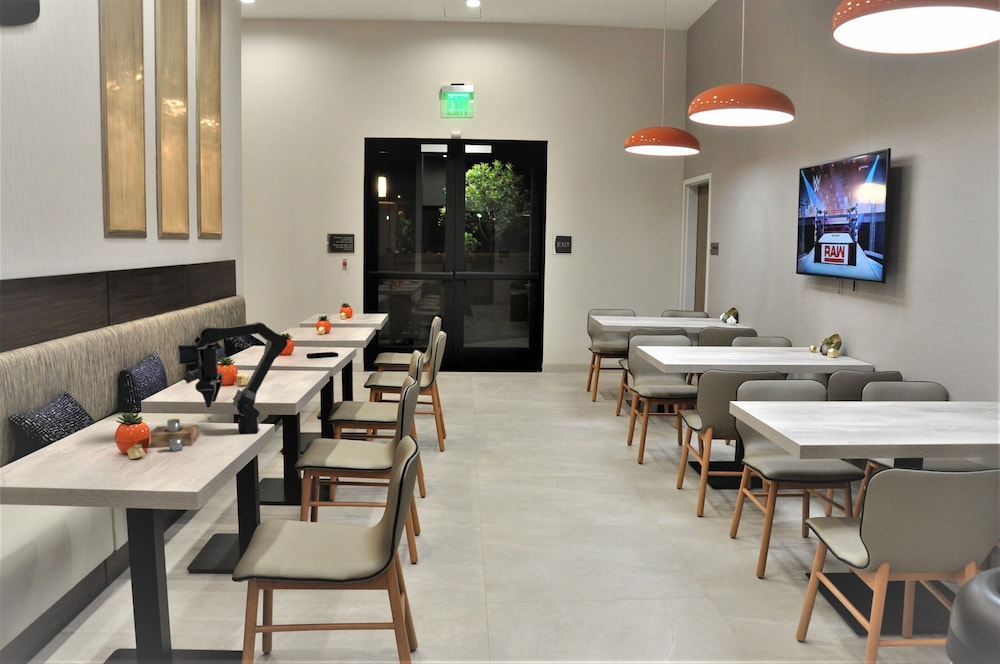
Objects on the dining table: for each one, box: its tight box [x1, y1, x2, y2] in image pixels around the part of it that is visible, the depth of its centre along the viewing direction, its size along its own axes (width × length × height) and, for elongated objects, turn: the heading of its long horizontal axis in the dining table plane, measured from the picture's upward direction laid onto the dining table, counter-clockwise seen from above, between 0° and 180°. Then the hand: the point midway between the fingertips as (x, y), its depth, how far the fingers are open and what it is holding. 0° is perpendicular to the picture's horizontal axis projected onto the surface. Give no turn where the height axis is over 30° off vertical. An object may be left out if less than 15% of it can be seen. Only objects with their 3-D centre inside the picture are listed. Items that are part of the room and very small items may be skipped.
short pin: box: [168, 437, 183, 453], centre depth 260 cm, size 4×4×4 cm
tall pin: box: [166, 418, 181, 432], centre depth 270 cm, size 4×4×8 cm
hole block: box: [148, 424, 200, 449], centre depth 270 cm, size 14×12×4 cm
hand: (211, 404), depth 276 cm, fingers open, 9 cm apart
